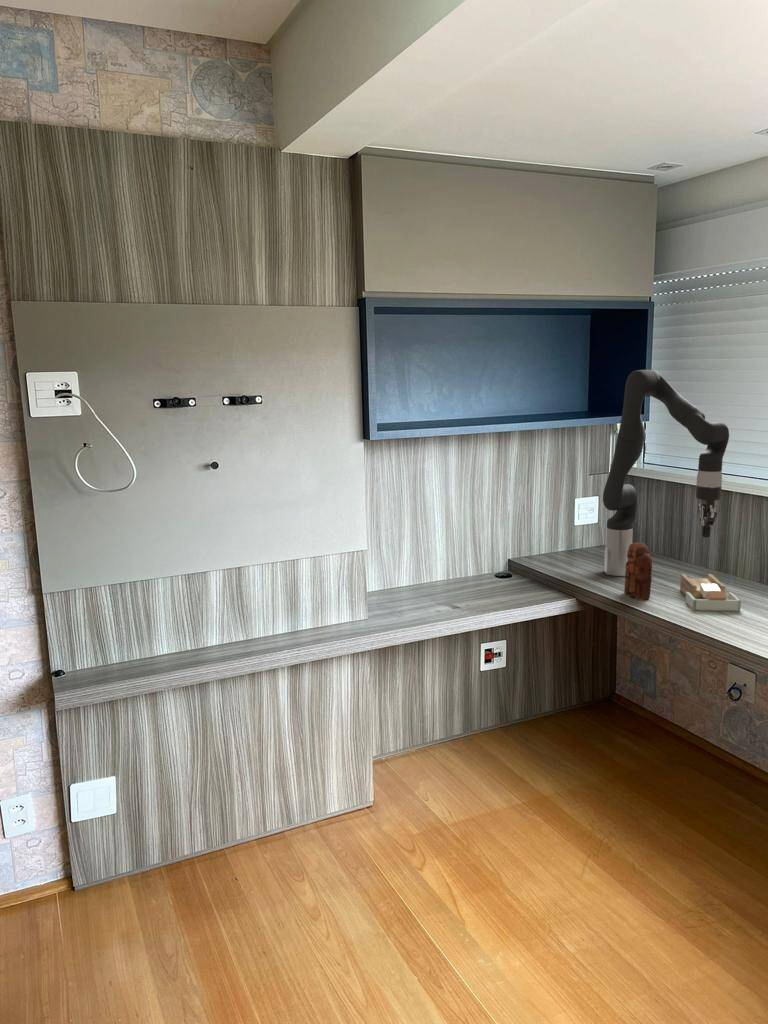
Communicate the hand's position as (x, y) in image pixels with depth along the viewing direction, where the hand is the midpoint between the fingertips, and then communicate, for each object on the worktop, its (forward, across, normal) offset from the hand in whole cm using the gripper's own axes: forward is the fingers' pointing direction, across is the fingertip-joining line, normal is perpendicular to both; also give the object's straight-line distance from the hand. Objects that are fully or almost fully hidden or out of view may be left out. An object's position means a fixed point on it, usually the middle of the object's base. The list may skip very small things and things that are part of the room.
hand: (705, 536), depth 251 cm
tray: (+20, +12, 0) cm, 23 cm away
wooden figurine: (+21, 0, -21) cm, 29 cm away
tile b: (+16, +13, 0) cm, 20 cm away
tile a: (+16, +10, 0) cm, 19 cm away
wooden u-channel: (+20, 0, 0) cm, 20 cm away
